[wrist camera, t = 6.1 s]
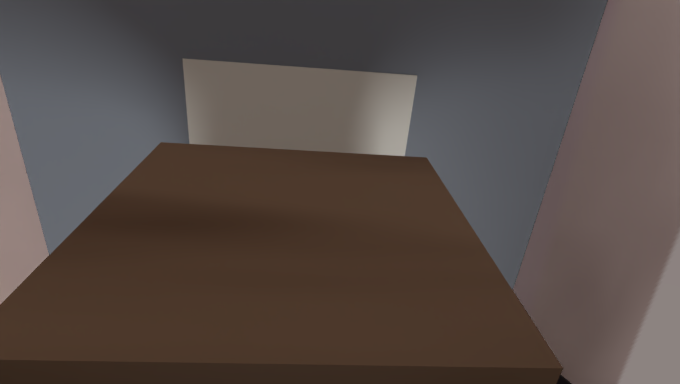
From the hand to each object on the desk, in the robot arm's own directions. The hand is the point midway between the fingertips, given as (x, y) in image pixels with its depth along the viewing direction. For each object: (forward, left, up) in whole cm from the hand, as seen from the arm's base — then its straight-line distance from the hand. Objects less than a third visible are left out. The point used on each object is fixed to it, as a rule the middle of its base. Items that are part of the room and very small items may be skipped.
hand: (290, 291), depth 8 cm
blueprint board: (0, 0, -6) cm, 6 cm away
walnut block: (0, 0, -1) cm, 1 cm away
